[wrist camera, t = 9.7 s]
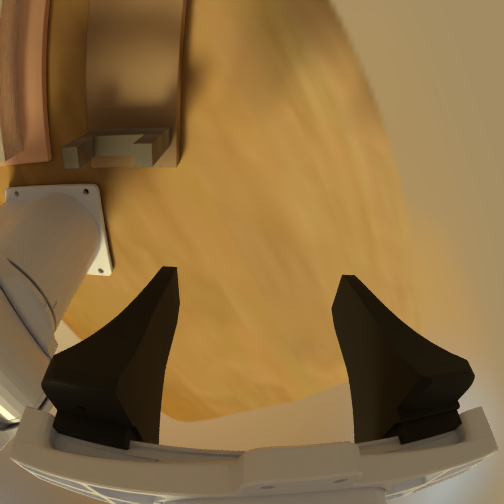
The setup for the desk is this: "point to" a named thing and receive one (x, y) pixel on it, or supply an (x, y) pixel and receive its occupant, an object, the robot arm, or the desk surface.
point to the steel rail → (9, 80)
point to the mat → (33, 83)
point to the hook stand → (132, 85)
